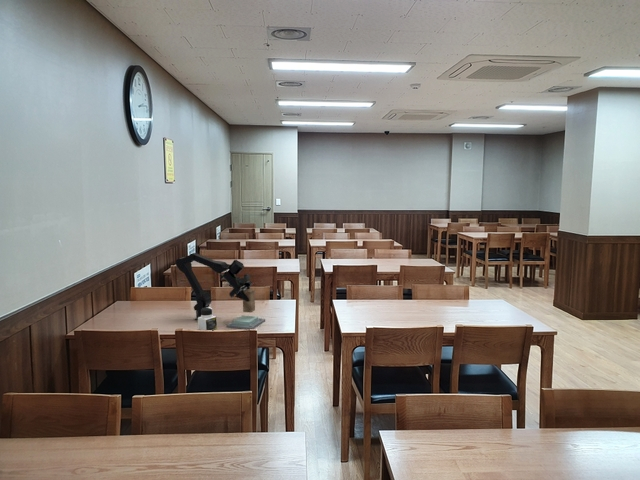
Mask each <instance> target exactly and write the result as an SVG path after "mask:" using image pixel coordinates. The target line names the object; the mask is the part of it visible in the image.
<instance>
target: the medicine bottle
mask: <svg viewBox="0 0 640 480" xmlns="http://www.w3.org/2000/svg"><path fill="white" fill-rule="evenodd" d="M213 314H214V313H213V308H212V307H210V306H209V307H205V308H202V309H201V317H198V320H197V323H198V324H197V325H198V331H201V330H212V331H213V330H214V331H215V330H216V329H217V328H218V326H217V325H218V322H217V316H216V315H213ZM217 330H218V329H217Z"/></svg>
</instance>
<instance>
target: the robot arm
mask: <svg viewBox="0 0 640 480" xmlns="http://www.w3.org/2000/svg"><path fill="white" fill-rule="evenodd" d="M193 262H196V263H199V264H201V265H204V266H205V267H208V268H210V269H211V270H212V272H215V273H216V274H220V276H219V277H220V278H219V279H220V280H223V279H224V280H225V281H226V282H227V283H228V286H229V287H232V290H231V291H230V292H229V296H230V298H238V299H241V300H242V301H243V300H245V301H248V302H249V299H248V297H247V296H246V295H245V293H244V290H246V289H251V285H253V283H252V282H251V281H252V280H251V275H250V274H248V273H246V274H244V275H243V277H239V276H236V275H239V274H240V273H241V271H242V270H244V268H245V265H244V264H243V262H241V261H240V260H238V259H234V260H233V261H232V262H231V264H228V263H227V262H226V261H222V260H215V259H214V260H213V259H211V258H210V257H207V256H204V255H203V254H202V255H201V254H200V253H198V252H191V253H190V254H188V255H187V256H182V257H180V258H177V259H176V261H175V267H176V268H177V270H179V272H181V273H183V275H184V276H185V278H186V280H187V281H188V284H189V285H190V287H191V290H192V291H193V292H194V295H195V301H196V304H195V305H194V306H193V310H194V311H195V315H196V317H195V318H194V321H198V317H201V309H202V308H205V307H210V305H211V304H212V301H213V300H212V296H211V295H210V293H209V291H207V292H206V291H205V290H204V289H203V287H202V286H201V284H200V282H199V279H197V276H196V274H195V273H194V271H193V269H192V266H193V265H192V263H193Z"/></svg>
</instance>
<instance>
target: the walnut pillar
mask: <svg viewBox="0 0 640 480" xmlns="http://www.w3.org/2000/svg"><path fill="white" fill-rule="evenodd" d="M244 293H245V295H246V296H247V297H248V299H249V302H248V301H245V300H243V299H242V311H243V313H253V312H254V311H256V299H255V298H256V297H255V295H256V294H255V289H251V288H250V289H246V290H244Z"/></svg>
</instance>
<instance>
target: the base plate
mask: <svg viewBox="0 0 640 480" xmlns="http://www.w3.org/2000/svg"><path fill="white" fill-rule="evenodd" d="M265 322H266V318H262V317H260V318H259V316H255V315H254V316H253V315H246V314H245V315H241V316H239V317H237V318H235V319H234V320H232V321H231V322H229V323H228V324H226V325H225V326H226V328H230V329H238V330H239V329H240V330H247V329H253V330H254V329H256V328H257V327H259V326H260V325H262V324H263V323H265Z"/></svg>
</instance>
